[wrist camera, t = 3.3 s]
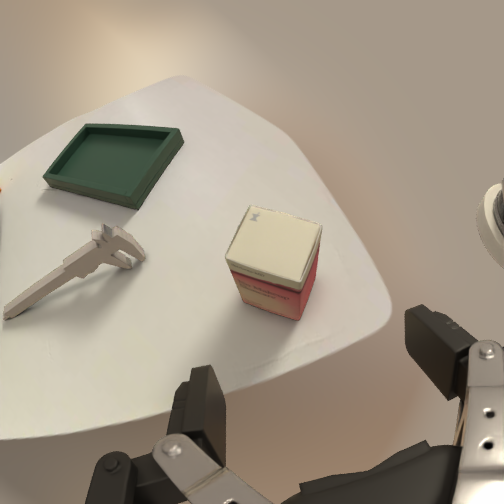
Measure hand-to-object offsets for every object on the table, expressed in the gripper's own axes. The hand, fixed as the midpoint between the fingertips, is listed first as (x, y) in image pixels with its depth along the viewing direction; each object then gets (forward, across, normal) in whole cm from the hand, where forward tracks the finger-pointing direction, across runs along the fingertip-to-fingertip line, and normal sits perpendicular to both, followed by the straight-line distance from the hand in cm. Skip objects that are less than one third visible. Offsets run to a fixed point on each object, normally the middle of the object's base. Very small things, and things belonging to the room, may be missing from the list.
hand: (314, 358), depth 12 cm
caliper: (+18, +21, -1) cm, 28 cm away
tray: (+29, +16, -13) cm, 36 cm away
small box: (+14, 0, +3) cm, 14 cm away
